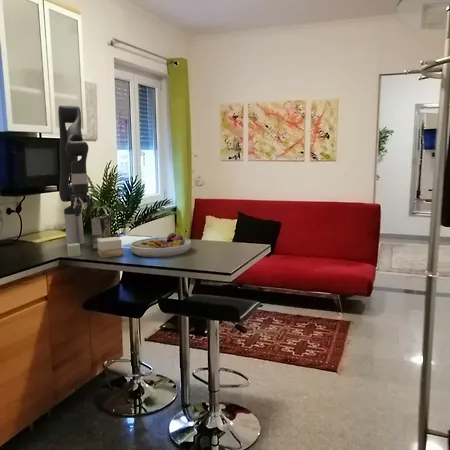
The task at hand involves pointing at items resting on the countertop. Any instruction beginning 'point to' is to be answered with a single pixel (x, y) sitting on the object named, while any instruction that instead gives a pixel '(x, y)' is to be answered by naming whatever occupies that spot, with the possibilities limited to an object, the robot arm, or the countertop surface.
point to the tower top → (109, 243)
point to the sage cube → (73, 249)
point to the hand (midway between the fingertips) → (82, 216)
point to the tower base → (110, 252)
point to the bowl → (161, 246)
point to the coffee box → (100, 229)
